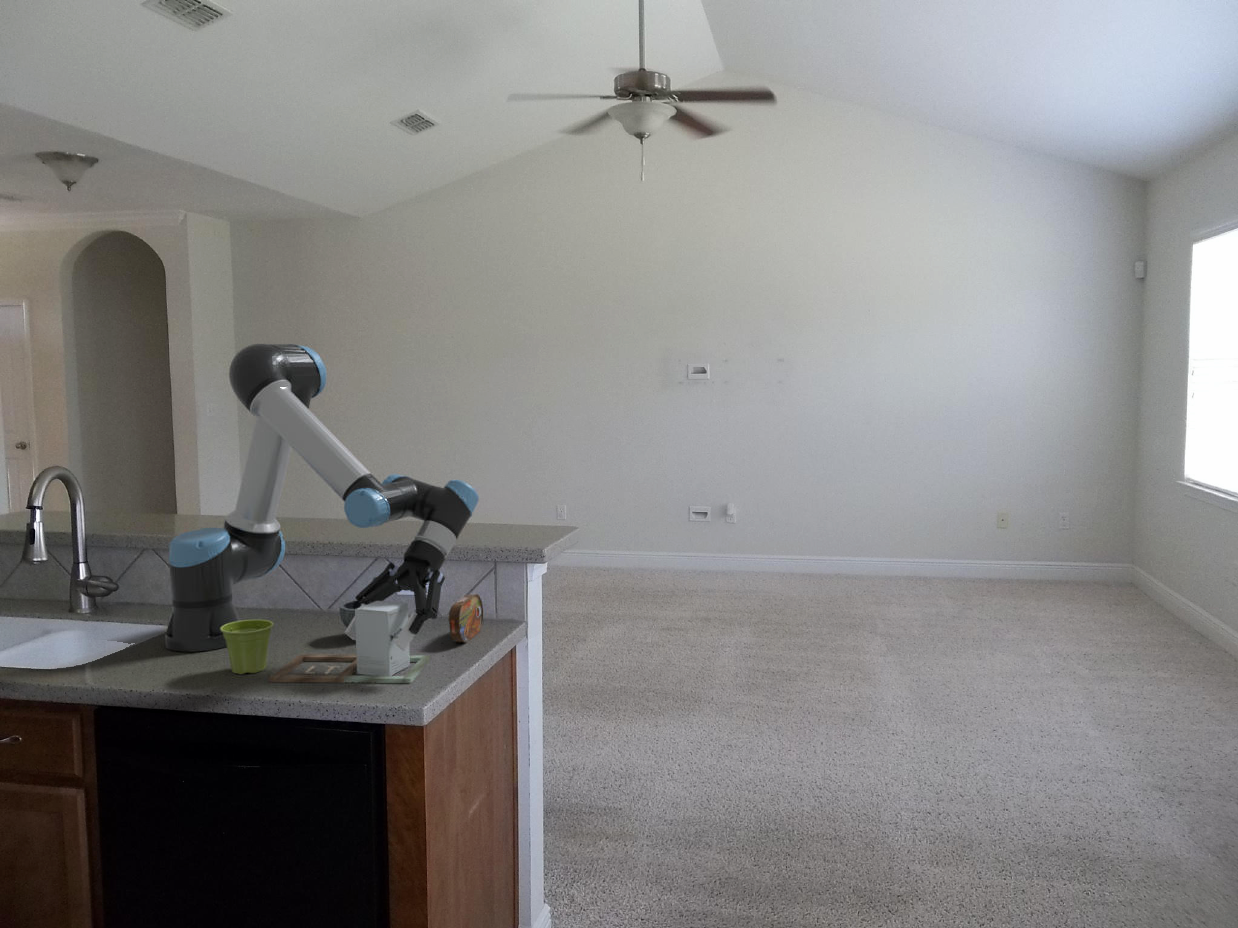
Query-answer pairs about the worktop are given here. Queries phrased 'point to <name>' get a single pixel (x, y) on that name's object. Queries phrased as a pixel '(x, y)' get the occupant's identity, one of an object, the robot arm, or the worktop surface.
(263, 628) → the plant pot
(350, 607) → the mortar and pestle
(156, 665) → the worktop surface
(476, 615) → the tin
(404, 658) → the supplement box
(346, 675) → the metal double frame
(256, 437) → the robot arm
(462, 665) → the worktop surface
